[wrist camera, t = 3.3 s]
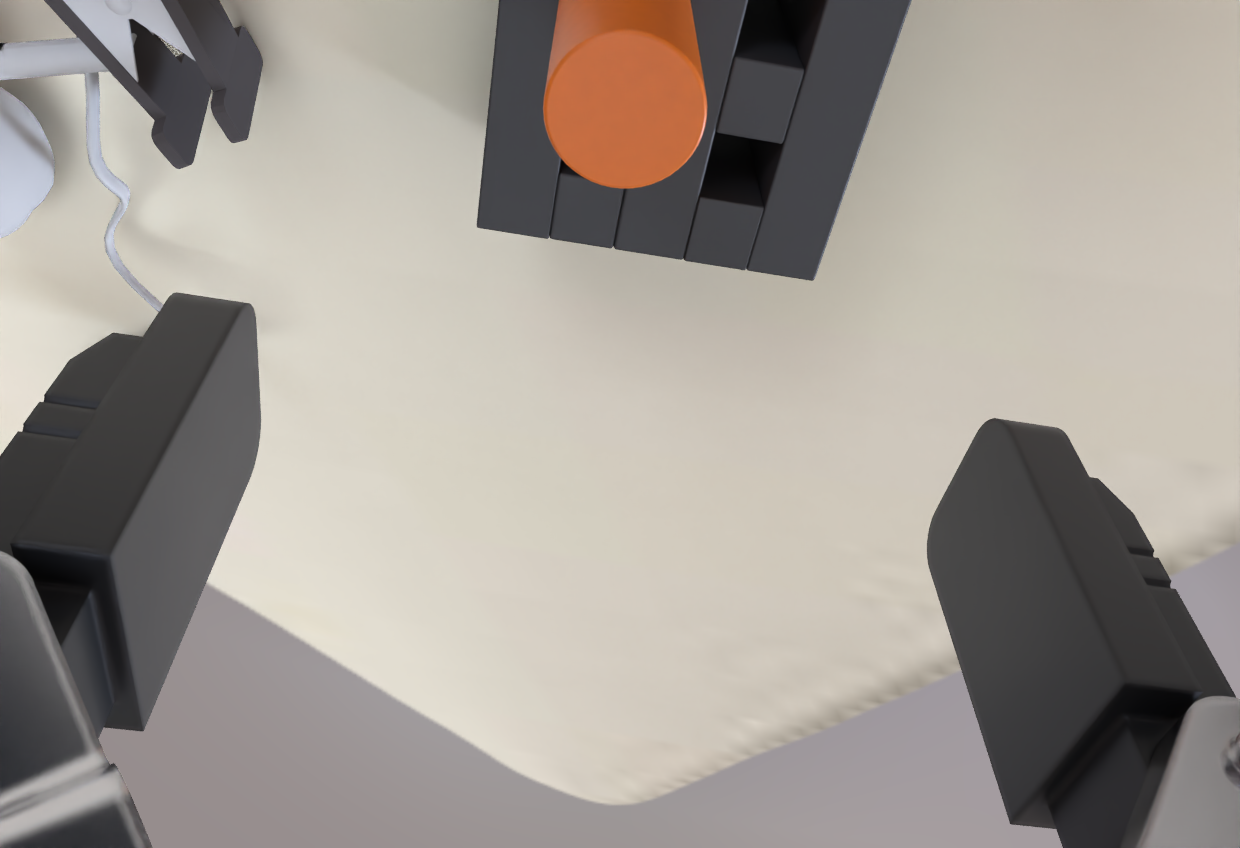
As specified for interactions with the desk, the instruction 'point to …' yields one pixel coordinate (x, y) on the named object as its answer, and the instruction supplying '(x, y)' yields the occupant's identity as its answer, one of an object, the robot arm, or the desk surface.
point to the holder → (705, 136)
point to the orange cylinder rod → (625, 89)
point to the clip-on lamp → (160, 82)
